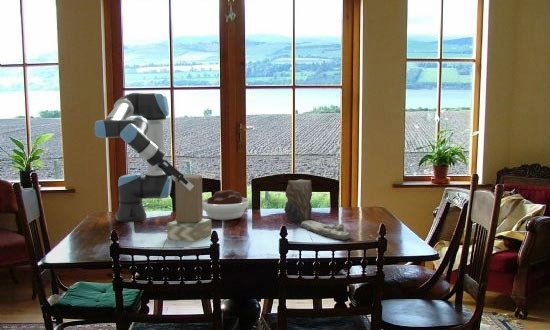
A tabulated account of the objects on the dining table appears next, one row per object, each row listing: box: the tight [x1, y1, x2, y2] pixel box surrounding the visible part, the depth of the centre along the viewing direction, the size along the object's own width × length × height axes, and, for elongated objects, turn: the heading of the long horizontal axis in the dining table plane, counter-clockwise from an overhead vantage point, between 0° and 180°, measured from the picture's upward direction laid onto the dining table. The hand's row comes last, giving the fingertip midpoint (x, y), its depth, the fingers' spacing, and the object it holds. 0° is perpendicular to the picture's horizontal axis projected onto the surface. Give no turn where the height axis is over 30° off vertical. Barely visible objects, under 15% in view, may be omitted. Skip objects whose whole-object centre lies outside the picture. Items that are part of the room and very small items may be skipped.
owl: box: [283, 178, 313, 223], centre depth 277 cm, size 13×13×20 cm
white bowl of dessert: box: [202, 189, 250, 221], centre depth 280 cm, size 25×25×15 cm
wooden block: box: [174, 174, 204, 223], centre depth 241 cm, size 10×10×20 cm
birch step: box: [166, 218, 213, 243], centre depth 242 cm, size 14×14×7 cm
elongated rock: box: [300, 219, 352, 241], centre depth 248 cm, size 35×5×10 cm
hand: (187, 186), depth 240 cm, fingers open, 13 cm apart
